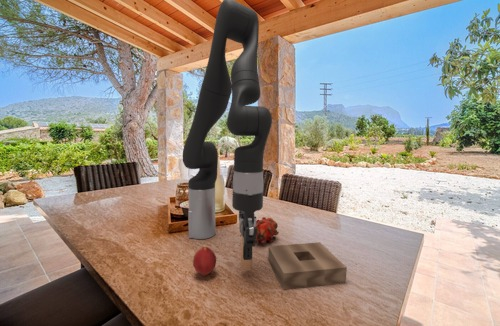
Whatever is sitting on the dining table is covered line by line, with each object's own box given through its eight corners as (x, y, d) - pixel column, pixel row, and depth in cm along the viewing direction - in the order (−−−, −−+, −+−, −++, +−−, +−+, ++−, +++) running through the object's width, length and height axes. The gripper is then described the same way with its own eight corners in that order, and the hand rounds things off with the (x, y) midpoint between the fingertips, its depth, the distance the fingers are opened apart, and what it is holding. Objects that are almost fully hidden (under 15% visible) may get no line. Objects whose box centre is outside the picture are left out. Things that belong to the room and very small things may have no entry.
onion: (195, 269, 65) (194, 240, 64) (216, 268, 65) (216, 239, 64) (191, 282, 59) (191, 250, 58) (215, 281, 59) (215, 250, 58)
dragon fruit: (272, 237, 88) (262, 257, 78) (254, 222, 90) (241, 240, 79) (285, 222, 85) (276, 241, 74) (266, 207, 86) (255, 223, 75)
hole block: (283, 289, 56) (283, 273, 56) (268, 259, 70) (268, 246, 70) (345, 282, 59) (346, 267, 59) (319, 254, 73) (320, 242, 72)
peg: (241, 270, 60) (241, 232, 59) (239, 264, 63) (240, 227, 62) (252, 269, 61) (253, 231, 59) (250, 263, 63) (251, 226, 62)
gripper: (230, 183, 65) (229, 243, 68) (235, 196, 52) (234, 272, 54) (257, 182, 67) (255, 242, 69) (269, 196, 53) (267, 270, 55)
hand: (246, 255), depth 61 cm, fingers closed on peg, 3 cm apart
